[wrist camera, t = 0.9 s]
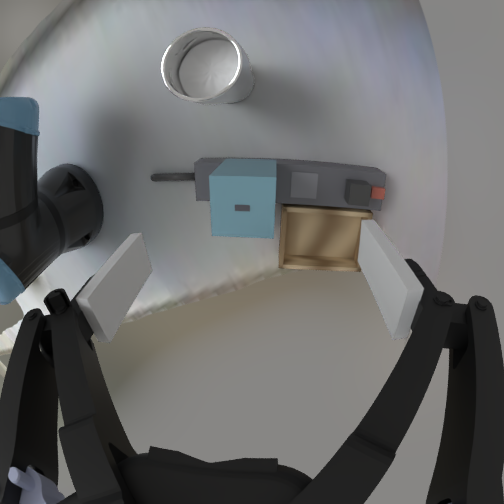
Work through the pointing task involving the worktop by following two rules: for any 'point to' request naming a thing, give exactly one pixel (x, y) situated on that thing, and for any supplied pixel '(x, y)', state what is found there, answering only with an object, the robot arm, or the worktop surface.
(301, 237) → the tray
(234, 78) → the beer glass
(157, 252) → the worktop surface
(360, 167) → the power strip
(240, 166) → the block
